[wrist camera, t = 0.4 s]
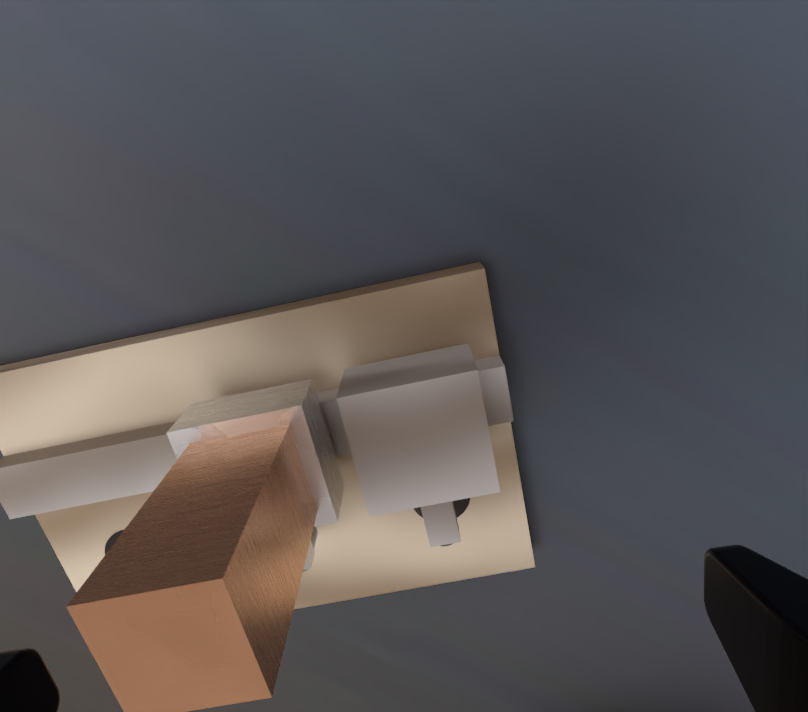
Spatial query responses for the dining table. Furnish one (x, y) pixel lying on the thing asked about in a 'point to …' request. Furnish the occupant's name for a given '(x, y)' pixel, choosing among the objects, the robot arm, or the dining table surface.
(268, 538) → the sliding leg
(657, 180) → the dining table surface
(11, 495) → the wooden base plate
